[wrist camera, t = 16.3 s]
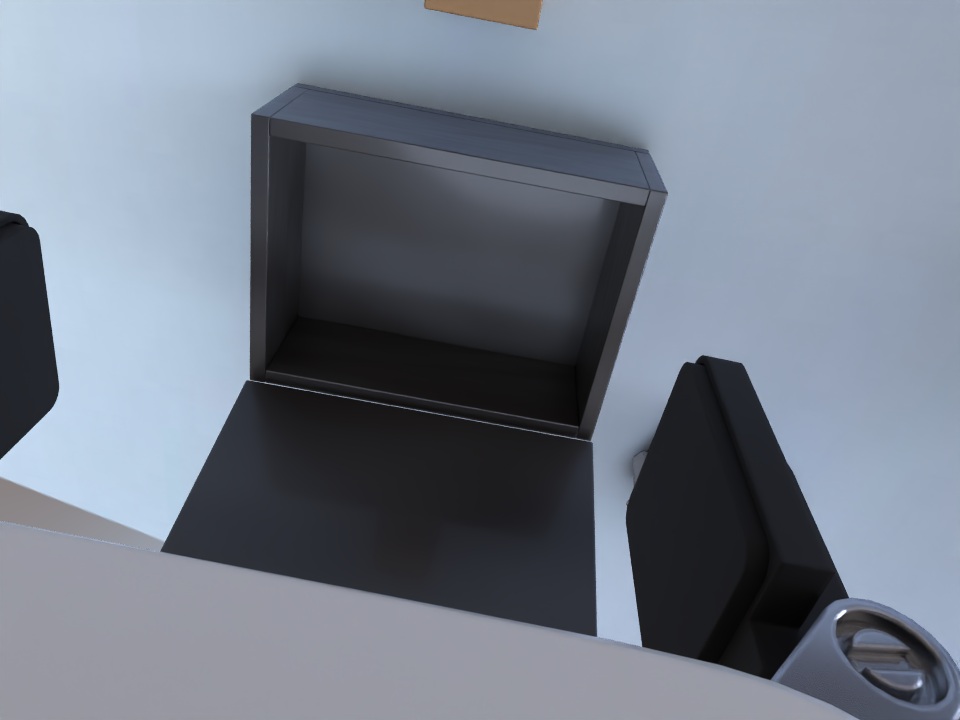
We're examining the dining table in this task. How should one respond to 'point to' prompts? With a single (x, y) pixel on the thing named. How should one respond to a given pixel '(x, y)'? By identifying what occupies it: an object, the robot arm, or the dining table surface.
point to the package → (493, 10)
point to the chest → (443, 258)
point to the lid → (399, 506)
